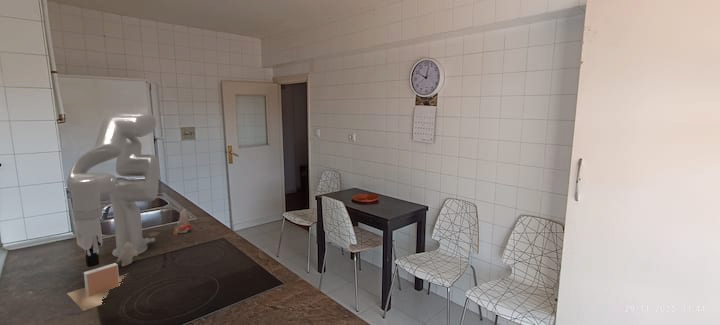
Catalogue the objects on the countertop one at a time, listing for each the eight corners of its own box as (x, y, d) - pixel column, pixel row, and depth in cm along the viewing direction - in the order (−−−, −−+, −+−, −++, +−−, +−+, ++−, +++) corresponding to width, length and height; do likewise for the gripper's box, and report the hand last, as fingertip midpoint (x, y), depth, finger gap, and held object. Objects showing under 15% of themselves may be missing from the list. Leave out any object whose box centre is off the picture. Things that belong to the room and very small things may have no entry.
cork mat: (128, 274, 130) (128, 273, 130) (147, 288, 121) (147, 287, 121) (67, 294, 116) (67, 293, 116) (83, 312, 106) (83, 310, 106)
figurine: (182, 228, 179) (184, 206, 177) (193, 231, 177) (195, 209, 175) (168, 233, 170) (170, 210, 168) (180, 237, 168) (182, 213, 167)
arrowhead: (119, 270, 133) (117, 245, 131) (115, 269, 134) (113, 244, 132) (140, 262, 140) (138, 239, 138) (136, 261, 141) (134, 237, 139)
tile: (117, 284, 122) (115, 262, 121) (119, 286, 121) (117, 264, 119) (86, 295, 115) (83, 272, 114) (88, 297, 114) (85, 274, 112)
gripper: (67, 212, 119) (72, 263, 122) (81, 221, 110) (87, 275, 113) (93, 207, 125) (98, 256, 128) (109, 215, 116) (113, 267, 119)
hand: (92, 265), depth 120 cm, fingers closed
